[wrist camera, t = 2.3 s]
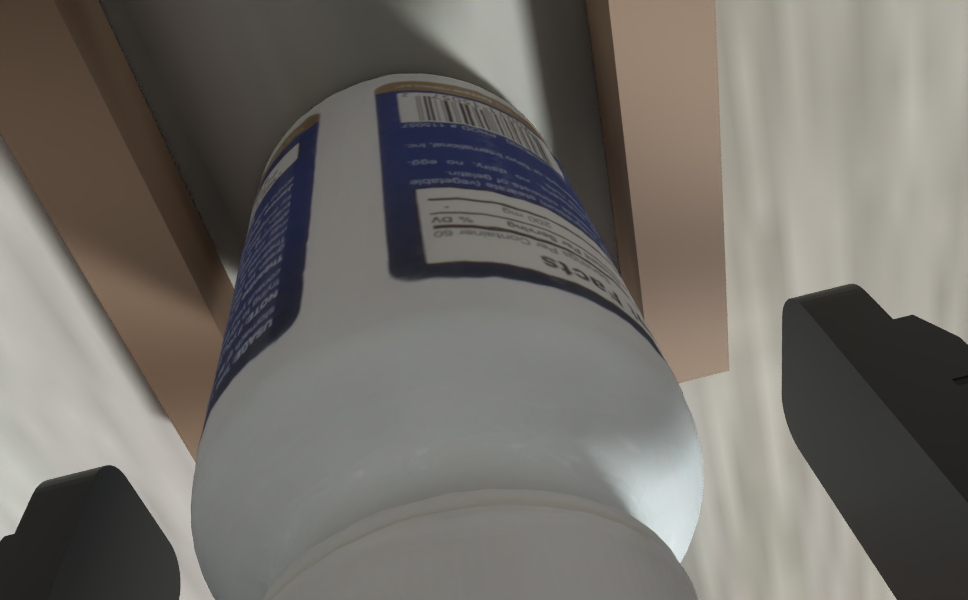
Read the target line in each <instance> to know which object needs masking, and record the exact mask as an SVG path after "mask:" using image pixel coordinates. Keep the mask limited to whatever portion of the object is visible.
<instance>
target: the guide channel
mask: <svg viewBox="0 0 968 600" xmlns="http://www.w3.org/2000/svg"><path fill="white" fill-rule="evenodd" d="M585 1H586V9H587V16H588V24H589V32H590V40H591V47H592V55H593V63H594V71H595V78H596V86H597V94H598V102H599V109H600V117H601V125H602V133H603V140H604V148H605V156H606V164H607V171H608V179H609V187H610V195H611V203H612V210H613V218H614V226H615V234H616V241H617V249H618V257H619V265H620V272H621V278H622V280H623V281H624V283H625V285H626V287H627V289H628V291H629V293H630V295H631V297H632V298H633V300H634V302H635V304H636V306H637V307H638V309H639V311H640V313H641V315H642V317H643V319H644V321H645V323H646V324H647V326H648V328H649V330H650V332H651V334H652V335H653V337H654V339H655V341H656V343H657V344H658V346H659V348H660V350H661V352H662V354H663V356H664V358H665V360H666V362H667V363H668V365H669V367H670V369H671V370H672V372H673V374H674V375H675V377H676V380H677V382H678V383H681V382H685V381H689V380H693V379H697V378H701V377H705V376H709V375H713V374H717V373H721V372H725V371H729V352H728V326H727V299H726V273H725V247H724V220H723V194H722V168H721V142H720V115H719V89H718V63H717V36H716V10H715V0H585ZM0 134H1V136H2V138H3V139H4V141H5V143H6V144H7V146H8V148H9V149H10V151H11V153H12V154H13V156H14V158H15V160H16V161H17V163H18V165H19V166H20V168H21V170H22V171H23V173H24V175H25V176H26V178H27V180H28V181H29V183H30V185H31V186H32V188H33V190H34V191H35V193H36V195H37V197H38V198H39V200H40V202H41V203H42V205H43V207H44V208H45V210H46V212H47V213H48V215H49V217H50V218H51V220H52V222H53V223H54V225H55V227H56V228H57V230H58V232H59V234H60V235H61V237H62V239H63V240H64V242H65V244H66V245H67V247H68V249H69V250H70V252H71V254H72V255H73V257H74V259H75V260H76V262H77V264H78V265H79V267H80V269H81V271H82V272H83V274H84V276H85V277H86V279H87V281H88V282H89V284H90V286H91V287H92V289H93V291H94V292H95V294H96V296H97V297H98V299H99V301H100V303H101V304H102V306H103V308H104V309H105V311H106V313H107V314H108V316H109V318H110V319H111V321H112V323H113V324H114V326H115V328H116V329H117V331H118V333H119V334H120V336H121V338H122V340H123V341H124V343H125V345H126V346H127V348H128V350H129V351H130V353H131V355H132V356H133V358H134V360H135V361H136V363H137V365H138V366H139V368H140V370H141V371H142V373H143V375H144V377H145V378H146V380H147V382H148V383H149V385H150V387H151V388H152V390H153V392H154V393H155V395H156V397H157V398H158V400H159V402H160V403H161V405H162V407H163V408H164V410H165V412H166V414H167V415H168V417H169V419H170V420H171V422H172V424H173V425H174V427H175V429H176V430H177V432H178V434H179V435H180V437H181V439H182V440H183V442H184V444H185V446H186V447H187V449H188V451H189V452H190V454H191V456H192V457H193V459H194V461H195V462H196V457H197V449H198V445H199V442H200V438H201V435H202V431H203V426H204V421H205V417H206V411H207V406H208V402H209V398H210V395H211V391H212V387H213V384H214V379H215V374H216V369H217V365H218V361H219V357H220V352H221V347H222V343H223V338H224V334H225V330H226V325H227V321H228V317H229V313H230V309H231V304H232V299H233V294H234V288H233V286H232V284H231V281H230V279H229V277H228V275H227V273H226V271H225V269H224V267H223V264H222V262H221V260H220V258H219V256H218V254H217V252H216V250H215V247H214V245H213V243H212V241H211V239H210V237H209V235H208V233H207V230H206V228H205V226H204V224H203V222H202V220H201V218H200V215H199V213H198V211H197V209H196V207H195V205H194V203H193V201H192V198H191V196H190V194H189V192H188V190H187V188H186V186H185V184H184V181H183V179H182V177H181V175H180V173H179V171H178V169H177V167H176V164H175V162H174V160H173V158H172V156H171V154H170V152H169V150H168V147H167V145H166V143H165V141H164V139H163V137H162V135H161V133H160V130H159V128H158V126H157V124H156V122H155V120H154V118H153V116H152V113H151V111H150V109H149V107H148V105H147V103H146V101H145V99H144V96H143V94H142V92H141V90H140V88H139V86H138V84H137V81H136V79H135V77H134V75H133V73H132V71H131V69H130V67H129V64H128V62H127V60H126V58H125V56H124V54H123V52H122V50H121V47H120V45H119V43H118V41H117V39H116V37H115V35H114V33H113V30H112V28H111V26H110V24H109V22H108V20H107V18H106V16H105V13H104V11H103V9H102V7H101V5H100V3H99V1H98V0H0Z"/></svg>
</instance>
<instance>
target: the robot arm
mask: <svg viewBox="0 0 968 600" xmlns="http://www.w3.org/2000/svg"><path fill="white" fill-rule="evenodd" d="M782 403H783V409H784V414H785V418H786V421H787V424H788V427H789V430H790V432H791V435H792V437H793V439H794V441H795V443H796V445H797V447H798V449H799V450H800V452H801V453H802V455H803V456H804V458H805V459H806V461H807V462H808V464H809V466H810V467H811V469H812V470H813V472H814V473H815V475H816V476H817V478H818V479H819V481H820V482H821V484H822V485H823V487H824V489H825V490H826V492H827V493H828V495H829V496H830V498H831V499H832V501H833V502H834V504H835V505H836V507H837V508H838V510H839V512H840V513H841V515H842V516H843V518H844V519H845V521H846V522H847V524H848V525H849V527H850V528H851V530H852V531H853V533H854V535H855V536H856V538H857V539H858V541H859V542H860V544H861V545H862V547H863V548H864V550H865V551H866V553H867V554H868V556H869V558H870V559H871V561H872V562H873V564H874V565H875V567H876V568H877V570H878V571H879V573H880V574H881V576H882V577H883V579H884V581H885V582H886V584H887V585H888V587H889V588H890V590H891V591H892V593H893V594H894V596H895V597H896V599H897V600H968V345H967V344H966V343H965V342H964V341H963V340H962V339H961V338H960V337H958V336H956V335H954V334H952V333H950V332H948V331H946V330H944V329H941V328H939V327H937V326H935V325H933V324H931V323H929V322H927V321H925V320H923V319H921V318H918V317H916V316H914V315H910V316H906V317H901V318H897V319H892V318H891V317H890V316H889V315H888V314H887V313H886V312H885V311H884V310H883V309H882V308H881V307H880V305H879V304H878V303H877V302H876V301H875V300H874V299H873V298H872V297H871V296H870V295H869V294H868V293H867V292H866V291H865V290H864V289H862V288H861V287H860V286H858V285H856V284H848V285H843V286H839V287H835V288H831V289H827V290H823V291H819V292H815V293H811V294H807V295H803V296H799V297H795V298H791V299H788V300H787V301H786V302H785V304H784V307H783V315H782ZM179 596H180V571H179V565H178V561H177V557H176V554H175V552H174V549H173V547H172V545H171V544H170V542H169V541H168V539H167V538H166V536H165V535H164V533H163V532H162V530H161V529H160V527H159V526H158V524H157V523H156V521H155V520H154V518H153V517H152V515H151V514H150V512H149V511H148V509H147V508H146V506H145V505H144V503H143V502H142V500H141V499H140V497H139V496H138V494H137V493H136V491H135V490H134V488H133V487H132V485H131V484H130V482H129V481H128V479H127V478H126V476H125V475H124V474H123V473H122V472H121V471H120V470H119V469H118V468H116V467H115V466H111V465H107V466H102V467H98V468H94V469H90V470H86V471H82V472H78V473H74V474H70V475H66V476H62V477H58V478H54V479H50V480H47V481H44V482H42V483H41V484H40V485H39V486H38V487H37V488H36V489H35V491H34V493H33V495H32V497H31V499H30V501H29V503H28V506H27V508H26V510H25V512H24V514H23V516H22V519H21V521H20V523H19V525H18V527H17V530H16V532H15V534H12V535H8V536H4V538H3V539H2V540H1V541H0V600H179Z"/></svg>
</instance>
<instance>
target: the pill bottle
mask: <svg viewBox="0 0 968 600" xmlns="http://www.w3.org/2000/svg"><path fill="white" fill-rule="evenodd" d="M703 482H704V471H703V458H702V452H701V446H700V442H699V438H698V434H697V430H696V426H695V423H694V420H693V417H692V414H691V412H690V410H689V408H688V405H687V403H686V401H685V399H684V396H683V393H682V390H681V388H680V386H679V384H678V382H677V380H676V377H675V375H674V374H673V372H672V370H671V369H670V367H669V365H668V363H667V362H666V360H665V358H664V356H663V354H662V352H661V350H660V348H659V346H658V344H657V343H656V341H655V339H654V337H653V335H652V334H651V332H650V330H649V328H648V326H647V324H646V323H645V321H644V319H643V317H642V315H641V313H640V311H639V309H638V307H637V306H636V304H635V302H634V300H633V298H632V297H631V295H630V293H629V291H628V289H627V287H626V285H625V283H624V281H623V280H622V278H621V276H620V274H619V272H618V271H617V269H616V267H615V265H614V263H613V261H612V259H611V257H610V255H609V253H608V251H607V250H606V248H605V247H604V245H603V243H602V241H601V239H600V237H599V235H598V233H597V231H596V229H595V227H594V225H593V224H592V222H591V220H590V218H589V217H588V215H587V213H586V211H585V209H584V207H583V206H582V204H581V202H580V200H579V198H578V197H577V195H576V193H575V191H574V189H573V187H572V186H571V184H570V182H569V180H568V178H567V176H566V174H565V172H564V171H563V169H562V167H561V166H560V164H559V162H558V161H557V159H556V158H555V157H554V155H553V153H552V151H551V149H550V147H549V146H548V144H547V143H546V141H545V140H544V138H543V137H542V136H541V134H540V133H539V132H538V131H537V129H536V128H535V127H534V125H533V124H532V123H531V122H530V121H529V120H528V119H527V118H526V117H525V116H524V115H523V114H522V113H521V112H519V111H518V110H517V109H516V108H514V107H513V106H512V105H510V104H509V103H508V102H506V101H505V100H503V99H501V98H500V97H498V96H497V95H495V94H493V93H490V92H488V91H486V90H484V89H482V88H480V87H478V86H476V85H473V84H471V83H468V82H465V81H461V80H457V79H454V78H450V77H445V76H439V75H432V74H424V73H419V74H392V75H386V76H382V77H378V78H375V79H372V80H368V81H364V82H361V83H359V84H356V85H353V86H351V87H349V88H347V89H344V90H342V91H340V92H338V93H336V94H333V95H331V96H329V97H328V98H326V99H325V100H323V101H322V102H321V103H319V104H318V105H316V106H315V107H313V108H312V109H311V110H310V111H309V112H307V113H306V114H305V115H303V116H302V117H301V118H300V119H298V120H297V121H296V122H295V123H294V125H293V126H292V127H291V128H290V129H289V130H288V131H287V132H286V134H285V135H284V136H283V138H282V139H281V140H280V142H279V143H278V145H277V146H276V147H275V149H274V151H273V153H272V155H271V156H270V158H269V160H268V162H267V164H266V167H265V170H264V172H263V175H262V178H261V182H260V184H259V187H258V190H257V192H256V196H255V199H254V204H253V208H252V212H251V217H250V222H249V227H248V232H247V237H246V241H245V244H244V248H243V252H242V256H241V259H240V265H239V270H238V274H237V279H236V284H235V289H234V294H233V299H232V304H231V309H230V313H229V317H228V321H227V325H226V330H225V334H224V338H223V343H222V347H221V352H220V357H219V361H218V365H217V369H216V374H215V379H214V384H213V387H212V391H211V395H210V398H209V402H208V406H207V411H206V417H205V421H204V426H203V431H202V435H201V438H200V442H199V445H198V449H197V457H196V466H195V473H194V480H193V487H192V499H191V528H192V535H193V541H194V548H195V552H196V555H197V559H198V562H199V565H200V568H201V571H202V574H203V576H204V579H205V581H206V583H207V585H208V587H209V589H210V591H211V593H212V595H213V597H214V598H215V600H699V599H698V596H697V593H696V591H695V588H694V586H693V584H692V582H691V580H690V578H689V577H688V575H687V573H686V572H685V570H684V568H683V567H682V566H681V564H680V562H681V561H682V559H683V557H684V555H685V553H686V551H687V549H688V547H689V544H690V542H691V539H692V537H693V534H694V531H695V528H696V525H697V522H698V519H699V514H700V509H701V504H702V497H703Z"/></svg>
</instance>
